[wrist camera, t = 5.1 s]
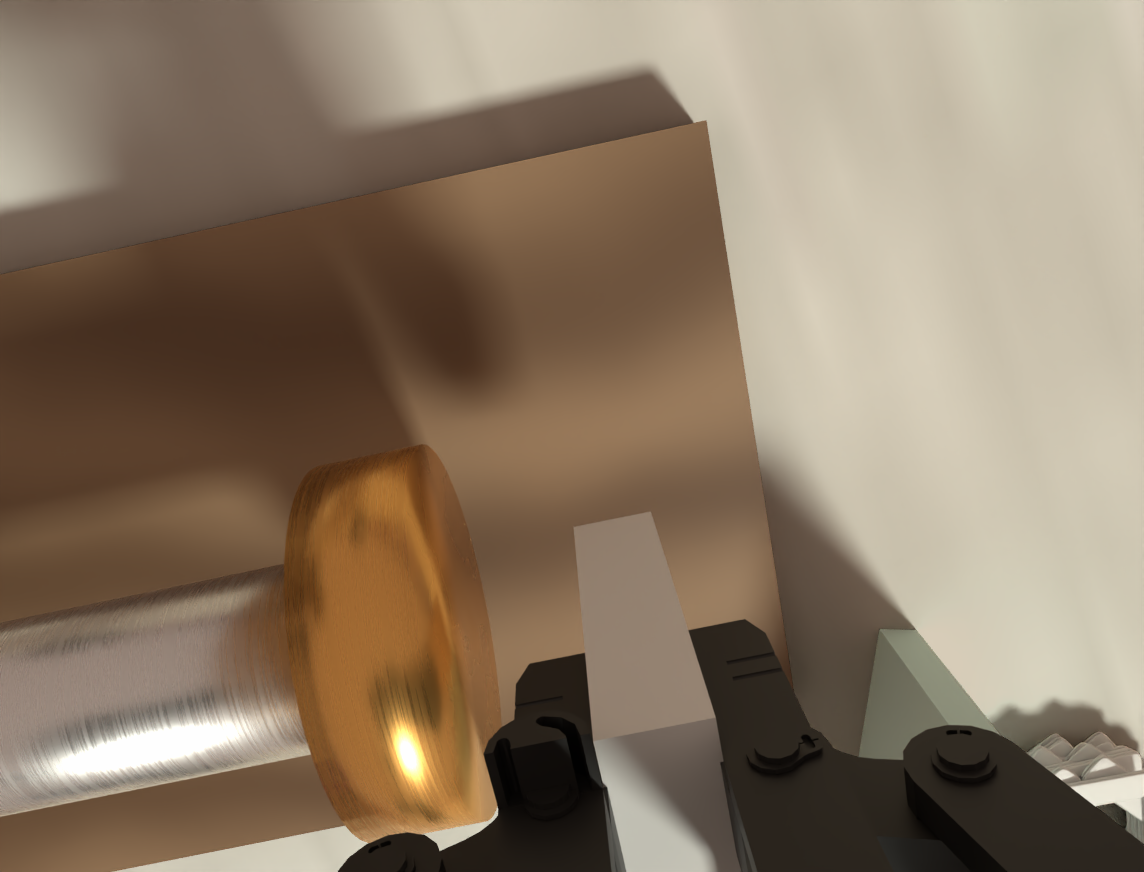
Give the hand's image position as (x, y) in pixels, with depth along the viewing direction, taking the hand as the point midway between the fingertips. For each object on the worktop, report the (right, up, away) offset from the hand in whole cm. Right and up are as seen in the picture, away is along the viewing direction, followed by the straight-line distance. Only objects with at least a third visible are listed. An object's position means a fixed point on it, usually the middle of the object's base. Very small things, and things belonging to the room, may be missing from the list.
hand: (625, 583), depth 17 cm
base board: (-13, -1, +6) cm, 15 cm away
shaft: (-14, -2, +3) cm, 14 cm away
